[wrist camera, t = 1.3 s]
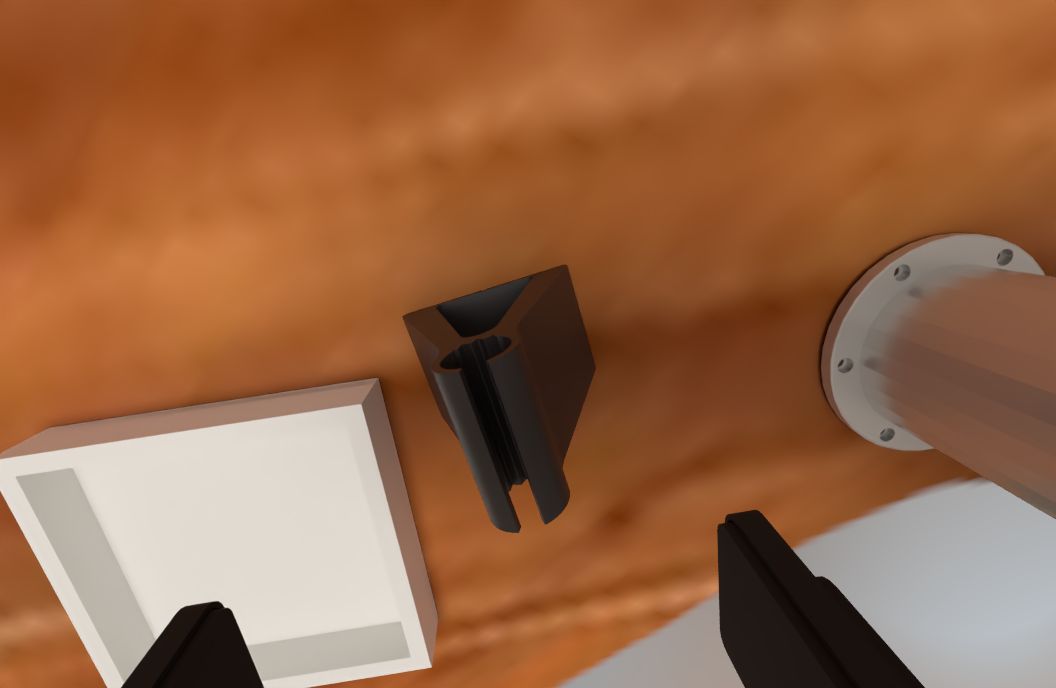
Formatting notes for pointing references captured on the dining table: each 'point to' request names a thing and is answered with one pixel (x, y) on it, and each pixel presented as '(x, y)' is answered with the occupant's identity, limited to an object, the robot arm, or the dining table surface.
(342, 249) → the dining table surface
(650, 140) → the dining table surface
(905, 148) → the dining table surface
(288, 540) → the tray
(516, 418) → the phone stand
